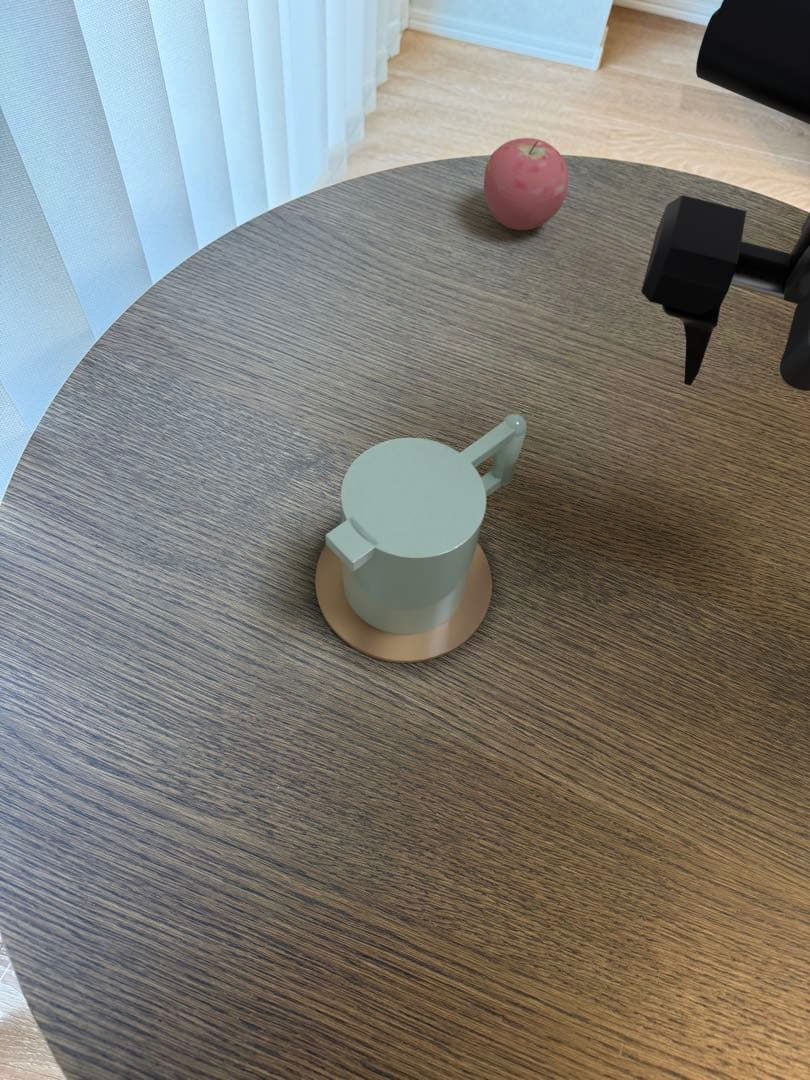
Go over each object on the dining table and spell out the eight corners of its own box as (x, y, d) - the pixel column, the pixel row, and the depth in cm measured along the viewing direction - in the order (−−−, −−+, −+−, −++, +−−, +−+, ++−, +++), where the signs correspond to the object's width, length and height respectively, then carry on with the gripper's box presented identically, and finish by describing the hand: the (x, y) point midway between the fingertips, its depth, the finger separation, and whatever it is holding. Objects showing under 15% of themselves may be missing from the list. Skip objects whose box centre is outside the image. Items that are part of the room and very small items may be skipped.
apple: (537, 190, 79) (555, 110, 73) (569, 239, 76) (590, 160, 69) (466, 202, 78) (477, 121, 71) (494, 253, 74) (509, 173, 67)
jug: (383, 673, 52) (390, 598, 43) (300, 584, 55) (290, 497, 46) (541, 543, 58) (576, 453, 49) (458, 469, 61) (477, 372, 52)
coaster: (510, 536, 58) (511, 533, 58) (463, 687, 52) (464, 685, 52) (351, 488, 60) (351, 485, 60) (288, 629, 54) (287, 627, 53)
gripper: (680, 220, 33) (585, 458, 46) (1176, 345, 31) (925, 557, 44) (714, 76, 38) (620, 325, 52) (1134, 174, 36) (923, 407, 50)
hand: (764, 401), depth 49 cm, fingers open, 9 cm apart
